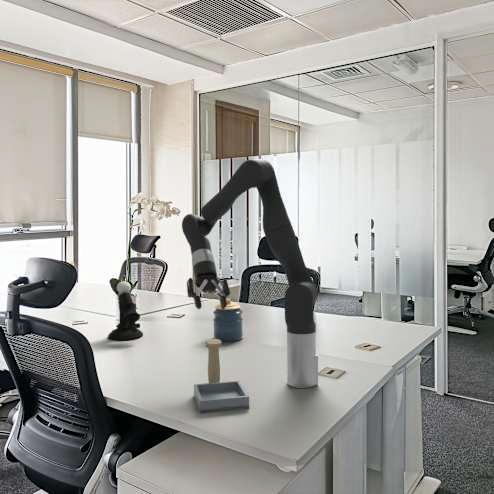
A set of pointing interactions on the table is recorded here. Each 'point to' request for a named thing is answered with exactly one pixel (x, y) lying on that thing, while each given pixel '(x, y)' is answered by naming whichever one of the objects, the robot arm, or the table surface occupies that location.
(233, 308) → the canister
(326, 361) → the table surface
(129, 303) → the sculpture
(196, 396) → the tray
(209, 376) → the beige club-shaped piece
